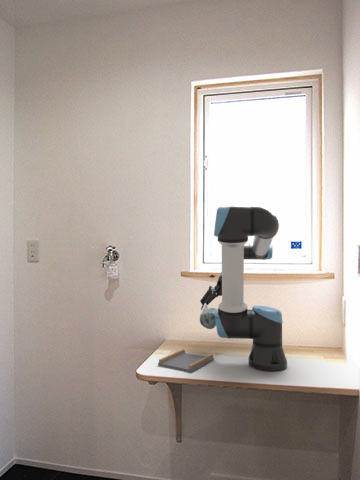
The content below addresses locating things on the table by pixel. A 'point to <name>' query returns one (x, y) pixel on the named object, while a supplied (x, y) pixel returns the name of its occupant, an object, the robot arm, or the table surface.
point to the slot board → (185, 361)
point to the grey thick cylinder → (208, 318)
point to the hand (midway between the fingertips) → (211, 317)
